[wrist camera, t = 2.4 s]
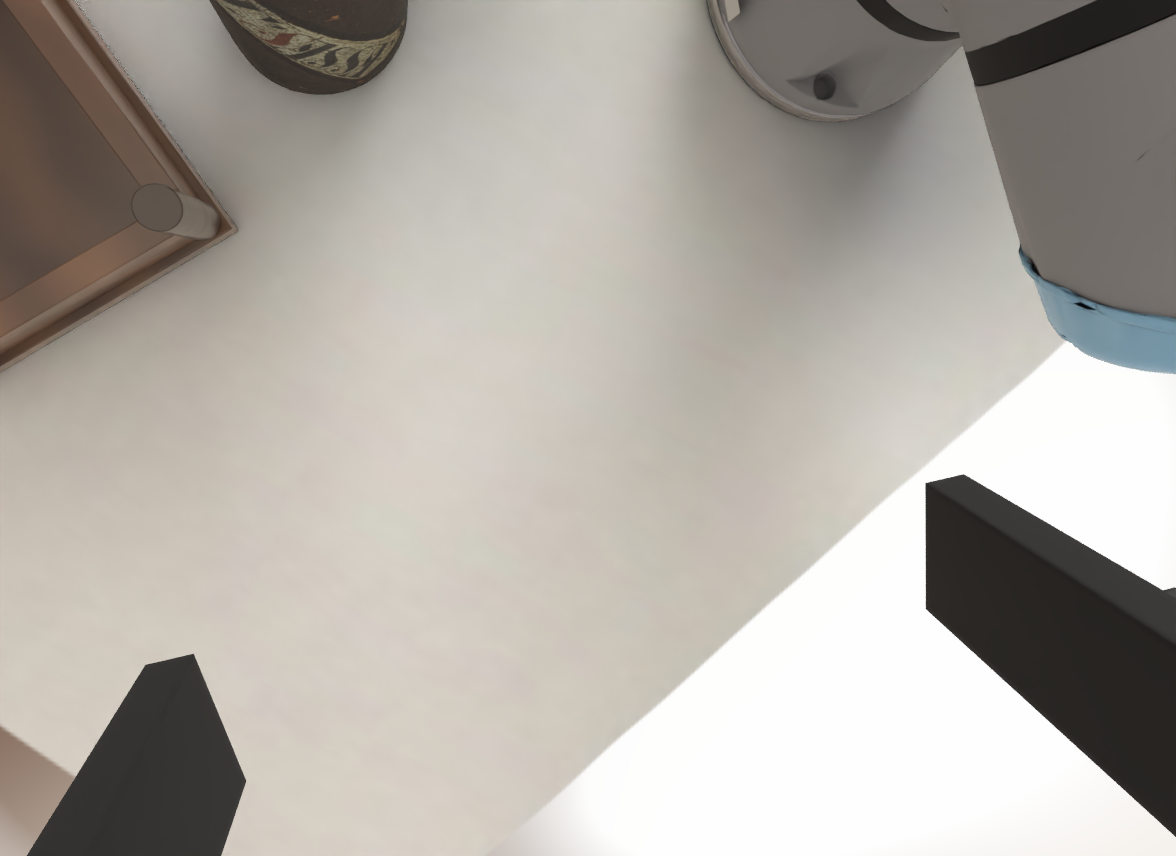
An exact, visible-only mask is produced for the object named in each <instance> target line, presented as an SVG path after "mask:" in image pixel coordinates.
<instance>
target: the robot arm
mask: <svg viewBox="0 0 1176 856" xmlns="http://www.w3.org/2000/svg"><path fill="white" fill-rule="evenodd" d="M707 3H708V8H709V12H710V16H711V19H712V22H713V25H714V28H715V31H716V34H717V36H718V38H719V41H720V43H721V45H722V47H723V49H724V51H725V53H726V55H727V56H728V58H729V60H730V61H731V63H732V64H733V66H734V67H735V69H736V70H737V71H738V73H739V74H740V75H741V76H742V78H743V79H744V80H745V81H746V82H747V83H748V84H749V85H750V86H751V87H752V89H754V90H755V91H756V92H757V93H758V94H759V95H760V96H762V97H763V98H764V99H766V100H767V101H768V102H770V103H771V104H773V105H774V106H776V107H778V108H780V109H782V110H783V111H786V112H788V113H790V114H793V115H795V116H798V117H802V118H805V119H809V120H815V121H826V122H835V121H845V120H851V119H855V118H859V117H862V116H865V115H868V114H871V113H874V112H876V111H879V110H882V109H884V108H886V107H889V106H891V105H893V104H894V103H896V102H898V101H900V100H901V99H903V98H904V97H906V96H907V95H909V94H910V93H912V92H913V91H914V90H916V89H917V88H919V87H920V86H921V85H922V84H923V83H925V82H926V81H927V80H928V79H929V78H930V77H931V76H932V75H933V74H934V73H935V72H936V71H937V70H938V69H939V68H940V67H941V66H942V65H943V64H944V63H945V62H946V61H947V60H948V59H949V58H950V57H951V56H952V55H953V54H954V53H955V52H956V51H957V50H958V49H959V48H960V46H961V45H962V44H963V47H964V51H965V54H966V57H967V60H968V64H969V67H970V70H971V74H972V77H973V80H974V84H975V89H976V92H977V96H978V99H979V103H980V106H981V110H982V113H983V116H984V120H985V123H986V127H987V130H988V134H989V137H990V140H991V144H992V147H993V151H994V154H995V158H996V161H997V164H998V168H999V171H1000V175H1001V178H1002V182H1003V185H1004V188H1005V192H1006V195H1007V199H1008V202H1009V206H1010V209H1011V212H1012V216H1013V219H1014V223H1015V226H1016V230H1017V233H1018V236H1019V240H1020V248H1019V255H1020V258H1021V262H1022V265H1023V266H1024V268H1025V270H1026V271H1027V273H1028V274H1029V275H1030V276H1031V277H1032V278H1033V279H1034V282H1035V285H1036V287H1037V290H1038V293H1039V295H1040V298H1041V301H1042V304H1043V306H1044V309H1045V312H1046V314H1047V317H1048V320H1049V322H1050V324H1051V325H1052V326H1053V328H1054V329H1055V331H1056V332H1057V333H1058V334H1059V335H1060V336H1061V337H1062V338H1063V339H1065V340H1067V341H1069V342H1071V343H1072V344H1073V345H1074V346H1075V347H1077V348H1078V349H1079V350H1080V351H1082V352H1083V353H1085V354H1087V355H1089V356H1091V357H1094V358H1096V359H1099V360H1102V361H1105V362H1108V363H1111V364H1115V365H1118V366H1122V367H1126V368H1131V369H1137V370H1143V371H1149V372H1158V373H1169V374H1176V0H707ZM926 609H927V610H928V611H929V612H930V613H931V614H932V615H933V616H934V617H935V618H936V619H937V620H939V621H940V622H941V623H942V624H943V625H944V626H945V627H946V628H947V629H949V630H950V631H951V632H952V633H953V634H954V635H955V636H956V637H957V638H958V639H959V640H961V641H962V642H963V643H964V644H965V645H966V646H967V647H968V648H969V649H970V650H971V651H973V652H974V653H975V654H976V655H977V656H978V657H979V658H981V660H982V661H984V662H985V663H986V664H987V665H988V666H989V667H990V668H991V669H993V670H994V671H995V672H996V673H997V674H998V675H999V676H1000V677H1001V678H1002V679H1003V680H1004V681H1005V682H1007V683H1008V684H1009V685H1010V686H1011V687H1012V688H1013V689H1014V690H1016V691H1017V692H1018V693H1019V694H1020V695H1021V696H1022V697H1023V698H1024V699H1025V700H1026V701H1028V702H1029V703H1030V704H1031V705H1032V706H1033V707H1034V708H1035V709H1036V710H1037V711H1038V712H1040V713H1041V714H1042V715H1043V716H1044V717H1045V718H1046V719H1047V720H1048V721H1049V722H1050V723H1052V724H1053V725H1054V726H1055V727H1056V728H1057V729H1058V730H1059V731H1060V732H1061V733H1063V734H1064V735H1065V736H1066V737H1067V738H1068V739H1070V741H1071V742H1073V743H1074V744H1075V745H1076V746H1077V747H1078V748H1079V749H1080V750H1081V751H1082V752H1083V753H1085V754H1086V755H1087V756H1088V757H1089V758H1090V759H1091V760H1092V761H1093V762H1094V763H1095V764H1096V765H1098V766H1099V767H1100V768H1101V769H1102V770H1103V771H1104V772H1105V773H1106V774H1107V775H1109V776H1110V777H1111V778H1112V779H1113V780H1114V781H1116V783H1117V784H1118V785H1120V786H1121V787H1122V788H1123V789H1124V790H1125V791H1126V792H1127V793H1128V794H1129V795H1131V796H1132V797H1133V798H1134V799H1135V800H1136V801H1137V802H1138V803H1139V804H1141V806H1143V807H1144V808H1145V809H1146V810H1147V811H1148V812H1149V813H1150V814H1151V815H1152V816H1154V817H1155V818H1156V819H1157V820H1158V821H1159V822H1160V823H1161V824H1162V825H1163V826H1164V827H1166V828H1167V829H1168V830H1169V831H1170V832H1171V833H1172V834H1173V835H1174V836H1175V837H1176V588H1171V589H1167V590H1161V589H1159V588H1158V587H1156V586H1154V585H1152V584H1151V583H1149V582H1147V581H1146V580H1144V579H1142V578H1140V577H1139V576H1137V575H1135V574H1133V573H1132V572H1130V571H1128V570H1127V569H1125V568H1123V567H1122V566H1120V565H1118V564H1116V563H1115V562H1113V561H1111V560H1110V559H1108V558H1106V557H1104V556H1103V555H1101V554H1099V553H1097V552H1096V551H1094V550H1092V549H1091V548H1089V547H1087V546H1086V545H1084V544H1082V543H1080V542H1079V541H1077V540H1075V539H1074V538H1072V537H1070V536H1068V535H1067V534H1065V533H1063V532H1062V531H1060V530H1058V529H1056V528H1055V527H1053V526H1051V525H1050V524H1048V523H1046V522H1044V521H1043V520H1041V519H1039V518H1038V517H1036V516H1034V515H1032V514H1031V513H1029V512H1027V511H1026V510H1024V509H1022V508H1020V507H1019V506H1017V505H1015V504H1013V503H1012V502H1010V501H1008V500H1007V499H1005V498H1003V497H1002V496H1000V495H998V494H996V493H995V492H993V491H991V490H990V489H987V488H986V487H984V486H983V485H981V484H979V483H977V482H976V481H974V480H972V479H971V478H969V477H967V476H965V475H959V476H955V477H951V478H946V479H942V480H938V481H933V482H929V483H926ZM245 783H246V779H245V777H244V775H243V772H242V770H241V767H240V765H239V762H238V760H237V758H236V755H235V753H234V750H233V748H232V746H231V743H230V741H229V738H228V736H227V733H226V731H225V729H224V726H223V724H222V721H221V719H220V717H219V714H218V712H217V709H216V707H215V704H214V702H213V700H212V697H211V695H210V692H209V690H208V688H207V685H206V683H205V680H204V678H203V676H202V673H201V671H200V668H199V666H198V663H197V661H196V659H195V656H194V654H191V655H187V656H182V657H178V658H174V659H169V660H165V661H161V662H157V663H152V664H148V665H145V667H144V668H143V670H142V672H141V673H140V675H139V676H138V678H137V680H136V681H135V683H134V684H133V686H132V688H131V689H130V691H129V692H128V694H127V696H126V697H125V699H124V700H123V702H122V704H121V705H120V707H119V708H118V710H117V712H116V713H115V715H114V717H113V718H112V720H111V721H110V723H109V725H108V726H107V728H106V729H105V731H104V733H103V734H102V736H101V737H100V739H99V741H98V742H97V744H96V745H95V747H94V749H93V750H92V752H91V754H90V755H89V757H88V758H87V760H86V762H85V763H84V765H83V766H82V768H81V770H80V771H79V773H78V774H77V776H76V778H75V779H74V781H73V782H72V784H71V786H70V787H69V789H68V790H67V792H66V794H65V795H64V797H63V799H62V800H61V802H60V803H59V805H58V807H57V808H56V810H55V812H54V813H53V815H52V816H51V818H50V819H49V821H48V823H47V825H46V826H45V827H44V829H43V831H42V832H41V834H40V835H39V837H38V839H37V840H36V842H35V844H34V845H33V847H32V848H31V850H30V852H29V853H28V855H27V856H221V854H222V851H223V848H224V845H225V842H226V840H227V837H228V834H229V831H230V828H231V825H232V822H233V819H234V816H235V813H236V810H237V807H238V804H239V801H240V798H241V795H242V792H243V789H244V786H245Z"/></svg>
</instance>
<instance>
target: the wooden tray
mask: <svg viewBox="0 0 1176 856" xmlns="http://www.w3.org/2000/svg"><path fill="white" fill-rule="evenodd" d="M236 232H238V229H237V227H236V226H235V225H234V223H233V222H232V220H231V219H230V218H229V216H228V215H227V213H226V212H225V211H224V209H223V208H222V207H221V205H220V204H219V202H218V201H217V200H216V198H215V197H214V195H213V194H212V193H211V191H210V190H209V188H208V187H207V186H206V184H205V183H204V181H203V180H202V179H201V177H200V176H199V174H198V173H197V172H196V170H195V169H194V167H193V166H192V165H191V163H190V162H189V160H188V159H187V158H186V156H185V155H184V153H183V152H182V151H181V149H180V148H179V146H178V145H177V144H176V142H175V141H174V139H173V138H172V137H171V135H170V134H169V132H168V131H167V130H166V128H165V127H164V125H163V124H162V123H161V121H160V120H159V119H158V117H157V116H156V114H155V113H154V112H153V110H152V109H151V107H150V106H149V105H148V103H147V102H146V100H145V99H144V98H143V96H142V95H141V93H140V92H139V91H138V89H137V88H136V86H135V85H134V84H133V82H132V81H131V79H130V78H129V77H128V75H127V74H126V72H125V71H124V70H123V68H122V67H121V65H120V64H119V63H118V61H117V60H116V58H115V57H114V56H113V54H112V53H111V51H110V50H109V49H108V47H107V46H106V44H105V43H104V42H103V40H102V39H101V37H100V36H99V35H98V33H97V32H96V31H95V29H94V28H93V26H92V25H91V24H90V22H89V21H88V19H87V18H86V17H85V15H84V14H83V12H82V11H81V10H80V8H79V7H78V5H77V4H76V3H75V1H74V0H0V372H2V371H4V370H5V369H7V368H9V367H10V366H12V365H14V364H15V363H17V362H19V361H20V360H22V359H24V358H25V357H27V356H29V355H31V354H32V353H34V352H36V351H37V350H39V349H41V348H42V347H44V346H46V345H47V344H49V343H51V342H52V341H54V340H56V339H58V338H59V337H61V336H63V335H64V334H66V333H68V332H69V331H71V330H73V329H74V328H76V327H78V326H79V325H81V324H83V323H84V322H86V321H88V320H90V319H91V318H93V317H95V316H96V315H98V314H100V313H101V312H103V311H105V310H106V309H108V308H110V307H111V306H113V305H115V304H116V303H118V302H120V301H122V300H123V299H125V298H127V297H128V296H130V295H132V294H133V293H135V292H137V291H138V290H140V289H142V288H143V287H145V286H147V285H148V284H150V283H152V282H154V281H155V280H157V279H159V278H160V277H162V276H164V275H165V274H167V273H169V272H170V271H172V270H174V269H175V268H177V267H179V266H181V265H182V264H184V263H186V262H187V261H189V260H191V259H192V258H194V257H196V256H197V255H199V254H201V253H202V252H204V251H206V250H207V249H209V248H211V247H213V246H214V245H216V244H218V243H219V242H221V241H223V240H224V239H226V238H228V237H229V236H231V235H233V234H234V233H236Z"/></svg>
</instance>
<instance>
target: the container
mask: <svg viewBox="0 0 1176 856" xmlns="http://www.w3.org/2000/svg"><path fill="white" fill-rule="evenodd" d="M210 2H211V4H212V5H213V7H214V9H215V10H216V12H217V14H218V15H219V17H220V19H221V20H222V22H223V24H224V25H225V27H226V29H227V30H228V32H229V34H230V35H231V37H232V39H233V40H234V42H235V43H236V44H237V46H238V47H239V49H240V50H241V52H242V53H243V54H244V56H245V57H246V58H247V59H248V61H249V62H250V63H251V64H252V65H253V66H254V67H255V68H256V69H257V70H258V71H259V72H260V73H261V74H263V75H264V76H265V77H267V78H268V79H270V80H271V81H273V82H275V83H277V84H279V85H281V86H283V87H285V88H288V89H290V90H294V91H299V92H304V93H309V94H334V93H339V92H343V91H347V90H350V89H353V88H356V87H359V86H361V85H363V84H365V83H367V82H368V81H369V80H371V79H372V78H374V77H375V76H376V75H378V74H379V73H380V72H381V71H382V70H383V69H384V68H385V67H386V65H387V64H388V63H389V62H390V60H391V59H392V57H393V56H394V54H395V52H396V51H397V49H398V47H399V45H400V43H401V40H402V38H403V35H404V31H405V27H406V20H407V3H408V0H210Z"/></svg>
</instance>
